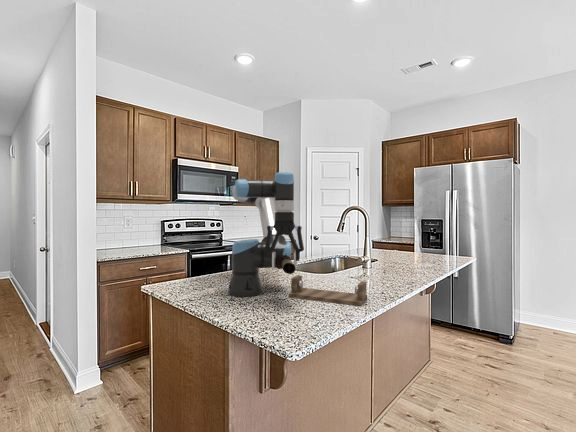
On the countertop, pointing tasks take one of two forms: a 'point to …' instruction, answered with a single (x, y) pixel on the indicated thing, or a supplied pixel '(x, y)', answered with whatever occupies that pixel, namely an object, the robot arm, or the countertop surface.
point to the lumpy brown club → (285, 264)
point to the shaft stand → (328, 293)
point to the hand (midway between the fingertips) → (284, 268)
